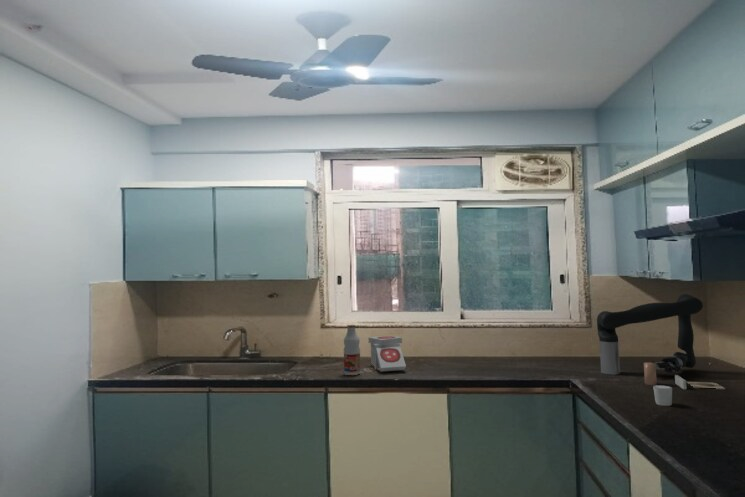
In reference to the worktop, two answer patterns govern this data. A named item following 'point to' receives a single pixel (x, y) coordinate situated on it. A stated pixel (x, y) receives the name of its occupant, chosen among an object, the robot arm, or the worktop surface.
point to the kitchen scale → (387, 353)
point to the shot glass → (663, 395)
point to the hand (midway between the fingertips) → (659, 368)
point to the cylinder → (650, 373)
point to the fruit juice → (351, 351)
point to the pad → (705, 385)
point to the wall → (680, 382)
